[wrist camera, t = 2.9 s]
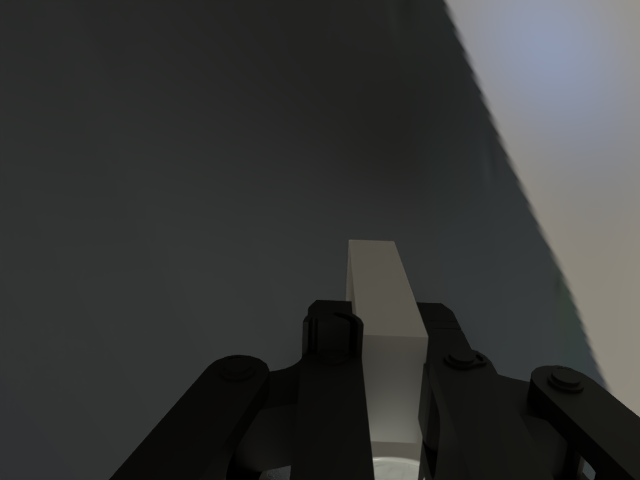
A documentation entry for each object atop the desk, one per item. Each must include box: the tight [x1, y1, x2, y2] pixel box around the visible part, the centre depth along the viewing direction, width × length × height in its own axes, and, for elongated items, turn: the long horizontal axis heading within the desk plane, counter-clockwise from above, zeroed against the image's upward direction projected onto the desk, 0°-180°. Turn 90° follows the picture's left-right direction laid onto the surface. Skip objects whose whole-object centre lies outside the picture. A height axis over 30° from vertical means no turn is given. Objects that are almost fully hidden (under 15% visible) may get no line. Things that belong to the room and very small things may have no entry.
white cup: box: [371, 425, 425, 480], centre depth 27 cm, size 8×8×10 cm
